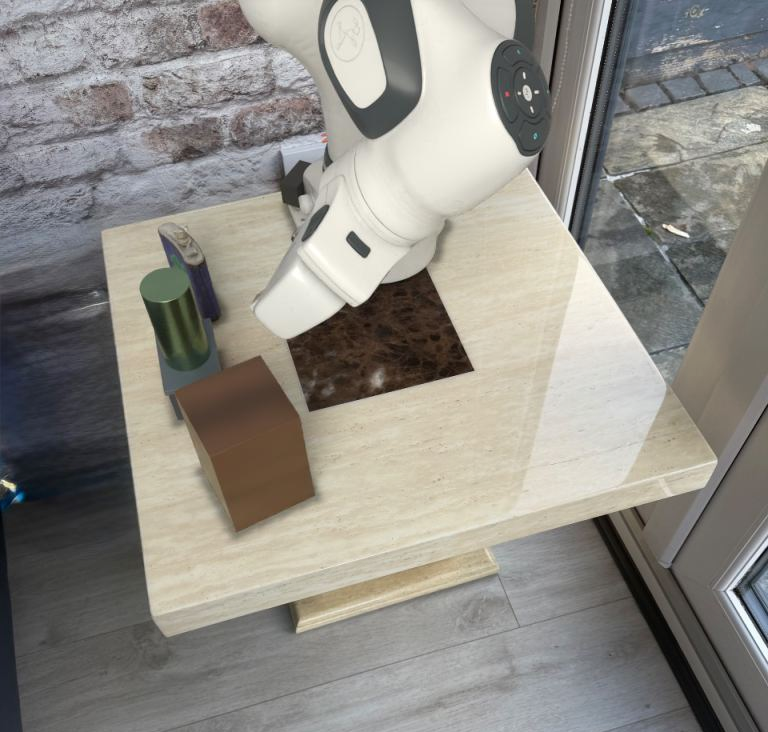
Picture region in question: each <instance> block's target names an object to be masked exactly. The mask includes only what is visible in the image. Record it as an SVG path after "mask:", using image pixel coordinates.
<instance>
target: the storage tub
mask: <svg viewBox="0 0 768 732" xmlns="http://www.w3.org/2000/svg"><path fill="white" fill-rule="evenodd" d="M201 320H202V324H203V327H204V330H205V334H206V337H207V341H208V344H209V347H210V356H209V358H208V360H207V361H206V362H205V363H204V364H203V365H202V366H200V367H199V368H197V369H194V370H190V371H178V370H175V369H172V368H171V367H169V366H168V365H167V363H166V361H165V359H164V356H163V353H162V351H161V348H160V345H159V342H158V340H157V337H156V334H155V331H154V330H153V332H154V333H153V334H154V339H155V345H156V351H157V358H158V364H159V370H160V377H161V383H162V389H163V393H164V396H165V397H167V396H168V397H169V398H168V399H169V400H170V402H171V406H172V408H173V410H174V413H175V416H176V419H177V420H178V421H181V420H182V421H183V420H184V418H183V415H182V413H181V410H180V407H179V404H178V402H177V399H176V396H175V394H174V390H177V389H179V388H182V387H184V386H186V385H189V384H191V383H194V382H196V381H198V380H201V379H203V378H206V377H208V376H210V375H213V374H215V373H218V372H220V371H222V365H221V361H220V356H219V351H218V347H217V341H216V339H215V338H216V337H215V333H214V329H213V323H211V319H210V318H207V319H203V318H201Z"/></svg>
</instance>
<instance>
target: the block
mask: <svg viewBox="0 0 768 732" xmlns="http://www.w3.org/2000/svg"><path fill="white" fill-rule="evenodd" d="M221 370H222V369H221ZM174 394H175V396H176V399H177V402H178V404H179V407H180V410H181V413H182V415H183V418H184V419H183V420H184V424H185V426H186V428H187V431H188V433H189V436H190V439H191V442H192V444H193V445H192V446H193V447H194V450H195V453H196V456H197V458H198V461H199V464H200V466H201V469H202V472H203V474H204V476H205V478H206V479H207V481H208V483H209V485H210V487H211V488H212V490H213V492H214V493H215V496H216V498H217V500H218V502H219V504H220V505H221V507H222V509H223V511H224V513H225V515H226V516H227V518H228V520H229V521H230V522H229V523H230V524H231V526H232V527H233V530H234V531H235V533H238V532H240V531H242V530H245V529H247V528H249V527H252V526H253V525H255V524H258V523H260V522H263V521H264V520H267V519H268V518H271V517H273V516H275V515H277V514H279V513H281V512H284V511H285V510H287V509H290V508H293V507H294V506H297V505H298V504H300V503H302V502H305V501H306V500H309V499H311V498H313V497H315V487H314V483H313V478H312V472H311V467H310V461H309V457H308V452H307V445H306V440H305V434H304V429H303V425H302V419H301V416H300V414H299V413H298V411H297V410H296V408H295V406H294V404H293V403H292V402H291V400H290V399H289V397H288V396H287V394H286V392H285V391H284V389H283V387H282V386H281V384H280V383H279V382H278V380H277V378H276V377H275V375H274V374H273V372H272V371H271V369H270V367H269V366H268V365H267V363H266V362H265V359H263V357H262V355H261V354H259V355H256V356H254V357H251V358H249V359H246V360H244V361H242V362H239V363H237V364H234V365H231V366H230V367H228V368H225V369H223V370H222V371H220V372H218V373H215V374H213V375H210V376H208V377H206V378H203V379H201V380H198V381H196V382H194V383H191V384H189V385H186V386H184V387H182V388H179V389H177V390H174Z"/></svg>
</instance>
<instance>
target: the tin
mask: <svg viewBox="0 0 768 732" xmlns="http://www.w3.org/2000/svg"><path fill="white" fill-rule="evenodd" d="M139 293H140V295H141V298H142V302H143V304H144V306H145V309H146V312H147V315H148V317H149V320H150V323H151V326H152V329H153V332H154V331H155V333H154V335H155V334H156V337H157V340H158V342H159V345H160V348H161V351H162V353H163V356H164V359H165V361H166V363H167V365H168V366H169V367H171V368H172V369H175V370H178V371H190V370H194V369H197V368H199V367H200V366H202V365H203V364H204V363H205V362H206V361H207V360H208V358H209V356H210V347H209V344H208V341H207V337H206V334H205V330H204V327H203V324H202V317H201V316H200V314H199V310H198V307H197V304H196V300H195V297H194V293H193V290H192V287H191V283H190V280H189V277H188V275H187V274H186V273H185V272H183V271H182V270H180V269H177V268H170V267H161V268H157V269H155V270H153V271H150V272H149V273H147V274H146V275H145V276H144V277H143V278H142V280H141V281H140V283H139Z"/></svg>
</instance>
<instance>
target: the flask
mask: <svg viewBox="0 0 768 732" xmlns="http://www.w3.org/2000/svg"><path fill="white" fill-rule="evenodd" d="M187 231H189V226H188V225H186V224H183V225H182V226H181V227H180V226H179V225H177V224H175V223H174V222H172V221H168V222H167V221H166V222H164V223H161V224H160V225H159V226H158V228H157V234H158V237H159V239H160V242H161V245H162V248H163V251H164V253H165V257H166V260H167V263H168V266H169V268H177V269H180V270H182V271H183V272H185V273H186V274H187V275H188V277H189V280H190V283H191V287H192V290H193V293H194V297H195V300H196V304H197V307H198V310H199V314H200V317H201V319H207V318H210V319H211V323H212V324H214V323H215V322H218V321H219V320H220V319H221V318H222V311H221V308H220V306H219V301H218V298H217V295H216V292H215V289H214V285H213V281H212V278H211V275H210V274H211V273H210V271H209V268H208V264H207V258H206V257H205V254H204V253H203V250H202V249H201V247H200V245H199V244H198V242H197V241H196V240H195V238H193V237H192V235H190V233H188V232H187Z"/></svg>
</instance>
